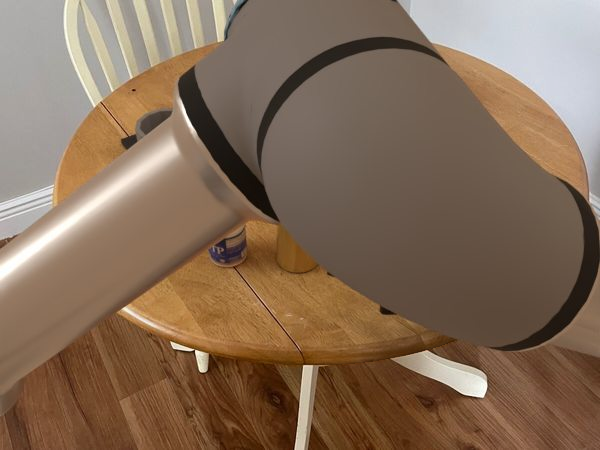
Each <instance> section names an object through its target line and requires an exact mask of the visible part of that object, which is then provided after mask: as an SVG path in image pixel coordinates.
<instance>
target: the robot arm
mask: <svg viewBox="0 0 600 450" xmlns="http://www.w3.org/2000/svg"><path fill="white" fill-rule="evenodd" d="M172 102H173V103H172V108H173V111H172V114H171V116H170V117H169V118H168V119H166V120H165V121H164V122H162V123H161V124H160V125H159V126H157V127H156V128H155V129H153V130H152V131H151V132H150V133H148V134H147V135H146V136H145V137H143V138H142V139H141V140H139V141H138V142H137V143H136V144H134V145H133V146H132V147H130V148H129V149H128V150H125V151H124V152H123V153H122V154H120V155H119V156H118V157H116V158H115V159H114V160H112V161H111V162H110V163H108V164H107V165H106V166H105V167H103V168H102V169H100V170H99V171H98V172H96V174H94V175H93V176H92V177H91V178H89V179H88V180H87V181H86V182H84V183H83V184H82V185H80V186H79V187H78V188H76V189H75V190H74V191H73V192H71V193H70V194H69V195H68V196H66V197H65V198H64V199H62V200H61V201H60V202H59V203H57V204H56V205H55V206H54V207H52V208H51V209H50V210H49V211H46V213H45V214H43V215H42V216H41V217H40V218H38V219H37V220H36V221H34V222H33V223H32V224H30V225H29V226H28V227H26V228H25V229H24V230H23V231H22V232H20V233H19V234H18V235H16V236H15V237H13V239H11V240H10V241H9V242H7V243H6V244H5V245H3V246H2V247H1V248H0V417H2V416H3V415H5V414H6V413H7V412H8V411H10V410H11V409H12V408H13V407H14V405H15V404H16V403H17V401H18V400H19V399H20V397H21V395H22V393H23V391H24V388H25V384H26V378H27V375H29V374H30V373H31V372H32V371H34V370H35V369H38V368H39V367H40V366H41V365H43V364H44V363H46V362H47V361H49V360H50V359H51V358H53V357H54V356H56V355H58V354H59V353H60V352H61V351H63V350H64V349H66V348H68V347H69V346H70V345H72V344H73V343H75V342H76V341H79V339H80V338H82V337H84V336H85V335H86V334H88V333H90V332H91V331H92V330H94V329H95V328H97V327H99V325H101V324H102V323H104V322H105V321H106V320H108V319H110V318H111V317H112V316H114V315H115V314H116V313H118V312H120V311H121V310H123V309H124V308H125V307H127V306H128V305H130V304H131V303H133V302H135V301H136V300H137V299H138V298H140V297H142V296H143V295H144V294H146V293H148V292H149V291H151V289H153V288H155V287H156V286H158V285H159V284H160V283H162V282H163V281H165V280H166V279H168V278H169V277H171V276H172V275H174V274H175V273H176V272H178V271H179V270H181V269H182V268H184V267H185V266H186V265H188V264H189V263H191V262H192V261H194V260H195V259H197V258H198V257H199V256H201V255H202V254H204V253H205V252H207V251H208V249H210V248H211V247H213V246H214V245H215V244H217V243H218V242H220V241H221V240H223V239H224V238H226V237H227V236H229V235H230V234H231V233H233V232H234V231H236V230H237V229H239V228H240V227H242V226H243V225H244V224H245V225H246V224H248V223H249V222H251V221H253V222H254V221H257V222H259V223H265V224H270V225H274V226H277V225H278V226H282V225H283V227H284V228H285V230H286V231H287V232H288V234H289V235H290V236H291V237H292V238H293V239H294V241H295V242H296V243H297V244H298V245H299V246H300V247H301V248H302V249H303V250H304V251H305V252H306V253H307V254H308V255H309V256H310V257H311V258H312V259H313V260H314V261H315V262H316V263H317V265H318V266H319V267H320V268H322V269H323V270H325V271H326V275H327V276H330V277H332V278H336V279H337V280H338V281H340V282H341V283H342V284H343V285H345V286H347V288H349V289H351V290H352V291H355V292H357V294H360V295H361V296H363V297H365V298H366V299H368V300H370V301H371V302H373V303H375V304H376V305H378V306H379V308H378V309H379V310H378V312H379V313H380V314H381V315H383V316H399V317H401V318H403V319H405V320H407V321H409V322H412V323H414V324H416V325H418V326H420V327H423V328H425V329H428V330H430V331H432V332H435V333H437V334H440V335H443V336H445V337H448V338H451V339H455V340H458V341H460V342H464V343H467V344H470V345H472V346H473V345H474V346H478V347H483V348H487V349H490V350H494V351H501V352H506V353H519V352H520V353H521V352H522V353H523V352H526V351H531V350H536V349H538V348H541V347H543V346H544V347H545V346H546V345H551V346H555V347H559V348H562V349H566V350H569V351H574V352H577V353H581V354H585V355H589V356H592V357H596V358H600V220H599V217H598V214H597V212H596V210H595V209H594V207H593V205H592V204H591V202H590V201H589V199H588V198H587V197H586V196H585V194H583V193H582V192H581V191H580V190H579V189H578V188H577V187H576V186H574V185H572V184H571V183H569V182H568V181H566V180H564V179H562V178H560V177H559V176H556V175H554V174H552V173H550V172H549V171H547V170H546V169H545V168H543V166H541V165H540V164H539V163H537V162H536V161H535V160H534V159H533V158H532V157H531V156H530V155H529V154H528V153H527V152H526V150H524V149H523V148H522V147H521V146H520V145H518V143H516V142H515V141H514V140H513V138H512V137H511V136H510V135H509V133H508V132H507V131H506V130H505V129H504V128H503V127H502V125H501V124H500V123H499V122H498V121H497V120H496V118H495V117H494V116H493V115H492V114H491V112H490V111H489V110H488V109H487V107H485V105H484V104H483V103H482V102H481V100H480V99H479V97H477V95H476V94H475V93H474V91H473V90H472V89H471V88H470V87H469V85H468V84H467V83H466V81H464V79H463V78H462V77H461V76H460V75H459V74H458V73H457V71H456V70H454V69H453V68H452V67H451V66H450V65H449V64H448V62H447V61H446V60H445V58H444V57H443V56H442V55H441V53H440V52H439V51H438V49H437V48H436V47H435V46H434V44H433V43H432V42H431V41H430V39H429V38H428V37H427V36H426V35H425V33H424V32H423V31H422V30H421V29H420V27H419V26H418V25H417V23H416V22H415V21H414V20H413V18H412V17H411V16H410V14H409V13H408V11H407V10H406V9H405V8H404V7H403V6H402V4H401V3H400V2H399V1H398V0H236V1H235V3H234V5H233V6H232V8H231V10H230V13H229V15H228V18H227V21H226V23H225V26H224V30H223V41H222V42H221V43H220V44H218V45H217V46H216V47H215V48H214V49H212V50H211V51H210V52H209V53H207V54H206V55H205V56H203V57H202V58H200V60H198V61H197V62H196V63H195V64H194V65H193V66H191V67H190V68H189V69H187V70H186V71H185V72H184V73H183V74H181V75H180V76H179V77H177V78H176V80H175V81H174V85H173V101H172Z"/></svg>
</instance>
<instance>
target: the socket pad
mask: <svg viewBox="0 0 600 450" xmlns="http://www.w3.org/2000/svg"><path fill="white" fill-rule="evenodd" d="M172 111H173V107H166V108H158V109H155V110H151V111H148V112H146V113H144V114H143V115H142V116H140V117H139V118H138V119H137V120H136V122H135V127H134V132H135V133H134V134H131V135H129V136H126V137H123V138H121V139H120V143H121V145H122V146H123V147H124V149H125V151H127V150H128V149H129V148H130V147H132V146H133V145H134V144H136V143H137V142H138V141H139V140H141V139H142V138H143V137H145V136H146V135H147V134H148V133H150V132H151V131H152V130H153V129H155V128H156V127H157V126H159V125H160V124H161V123H162V122H164V121H165V120H166V119H168V118H169V117H170V116H171V114H172Z"/></svg>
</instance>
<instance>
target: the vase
mask: <svg viewBox="0 0 600 450" xmlns="http://www.w3.org/2000/svg"><path fill="white" fill-rule="evenodd" d="M275 261H276V263H277V264H278V266H279V267H280V268H281V269H283V270H285V271H287V272H290V273H294V274H301V273H306V272H309V271H311V270H313V269H315V267H317V265H318V264H317V263H316V262H315V261H314V260H313V259H312V258H311V257H310V256H309V255H308V254H307V253H306V252H305V251H304V250H303V249H302V248H301V247H300V246H299V245H298V244H297V243H296V242H295V241H294V239H293V238H292V237H291V236H290V235H289V234H288V232H287V231H286V230H285V228H284V227H283V225H282V226H278V225H276V248H275Z"/></svg>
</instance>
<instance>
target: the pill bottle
mask: <svg viewBox="0 0 600 450" xmlns="http://www.w3.org/2000/svg"><path fill="white" fill-rule="evenodd" d="M246 229H247V228H246V224H244V225H243V226H242V227H240V228H239V229H237V230H236V231H234V232H233V233H231V234H230V235H229V236H227V237H226V238H224V239H223V240H221V241H220V242H218V243H217V244H215V245H214V246H213V247H211V248H210V249H208V250H207V251H208V257H209V260H210V261H211V262H212V263H213V264H214V265H216V266H218V267H221V268H233V267H235V266H238V265H240V264H242V263H243V262H244V261H245V259H246V258H247V256H248V245H247V244H248V242H247V230H246Z"/></svg>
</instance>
